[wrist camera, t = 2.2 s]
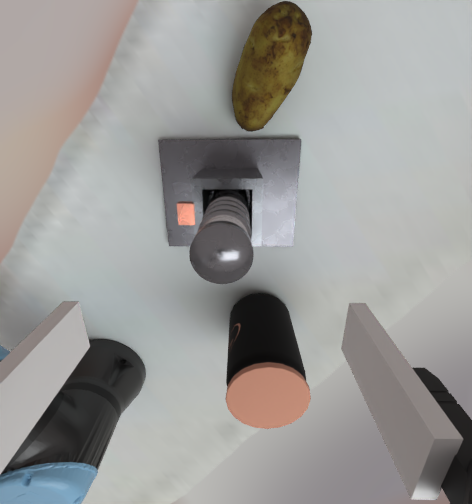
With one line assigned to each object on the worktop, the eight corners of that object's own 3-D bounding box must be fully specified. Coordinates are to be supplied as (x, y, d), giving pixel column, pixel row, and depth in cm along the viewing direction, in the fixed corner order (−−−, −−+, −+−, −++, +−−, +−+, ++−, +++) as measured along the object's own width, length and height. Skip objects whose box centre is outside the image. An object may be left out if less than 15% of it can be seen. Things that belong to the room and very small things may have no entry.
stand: (170, 243, 47) (150, 274, 37) (160, 139, 41) (133, 142, 31) (292, 244, 47) (306, 275, 37) (299, 139, 41) (320, 141, 31)
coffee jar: (229, 290, 51) (223, 367, 34) (289, 289, 50) (314, 366, 34) (230, 339, 55) (226, 429, 38) (287, 338, 55) (307, 429, 38)
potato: (207, 95, 39) (200, 86, 32) (275, 6, 35) (284, -27, 28) (252, 139, 41) (255, 140, 34) (320, 60, 37) (340, 42, 30)
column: (214, 213, 44) (191, 283, 24) (212, 180, 42) (187, 225, 22) (246, 213, 44) (252, 284, 23) (247, 179, 42) (254, 225, 22)
